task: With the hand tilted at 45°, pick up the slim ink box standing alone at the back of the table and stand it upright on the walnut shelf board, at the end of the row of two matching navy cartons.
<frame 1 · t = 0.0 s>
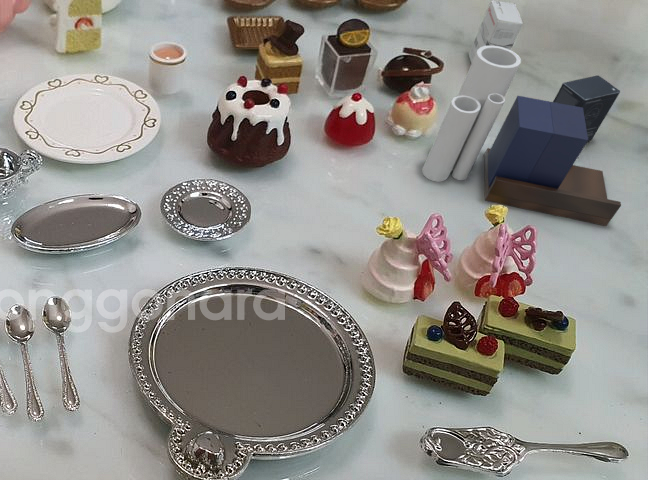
vase: (448, 166, 132), on the table
shelf: (542, 188, 128), on the table
box: (562, 137, 138), on the table
matching cartons: (546, 182, 127), resting on shelf
ink box: (482, 66, 153), on the table
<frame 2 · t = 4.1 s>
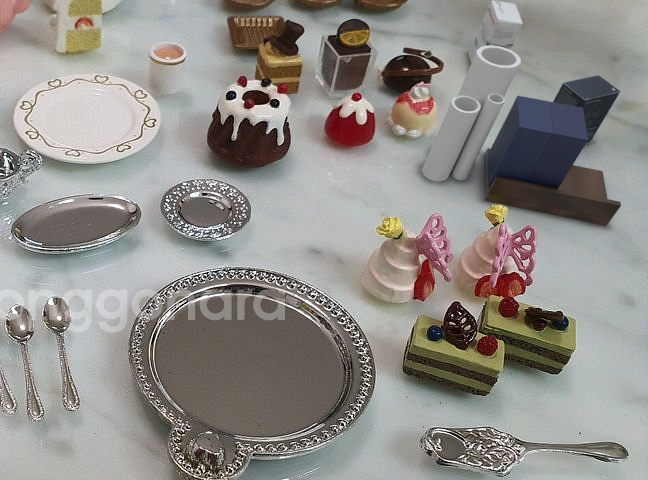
nothing on the table moved.
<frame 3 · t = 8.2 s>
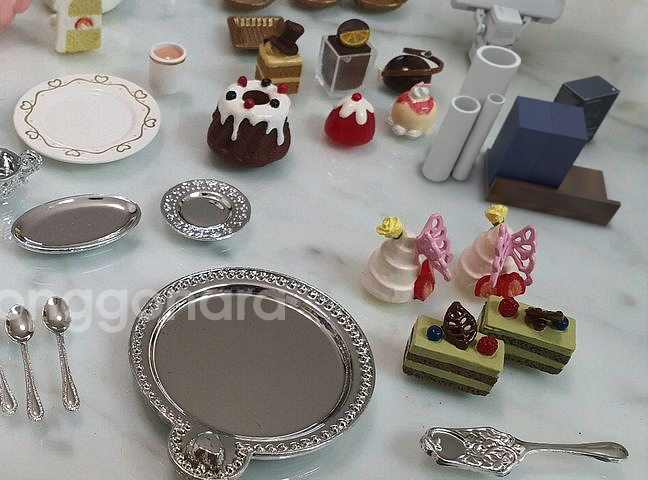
hand: (496, 37, 148), 7 cm above the table, tool tilted 45°, fingers closed on ink box, 5 cm apart
ink box: (482, 66, 153), on the table, touching gripper
everything else where it was.
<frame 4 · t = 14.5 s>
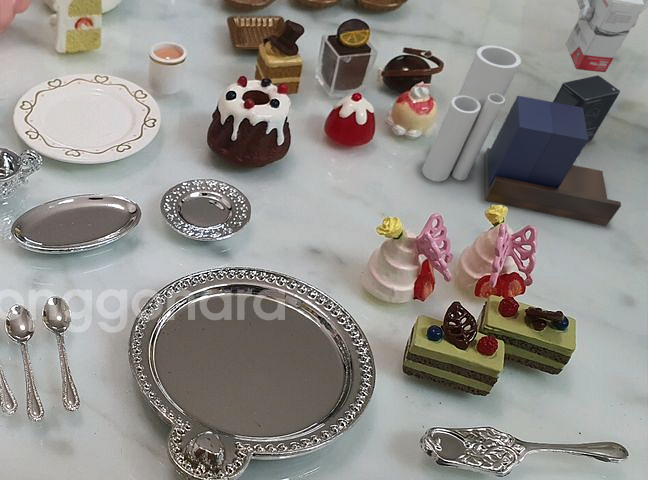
hand: (606, 23, 119), 23 cm above the table, tool tilted 45°, fingers closed on ink box, 5 cm apart
ink box: (584, 59, 125), point 16 cm above the table, touching gripper
everything else where it was.
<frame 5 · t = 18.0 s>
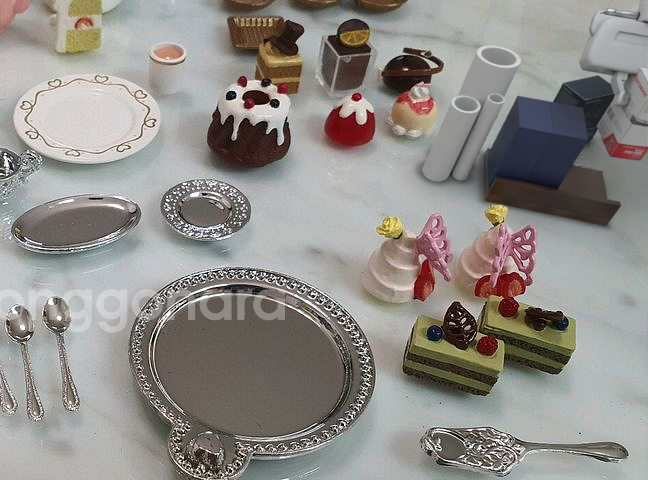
hand: (642, 110, 113), 18 cm above the table, tool tilted 45°, fingers closed on ink box, 5 cm apart
ink box: (617, 144, 119), point 11 cm above the table, touching gripper
everything else where it was.
when the fingers open (8 cm above the table, at t = 21.0 s): ink box stays where it is, resting on shelf.
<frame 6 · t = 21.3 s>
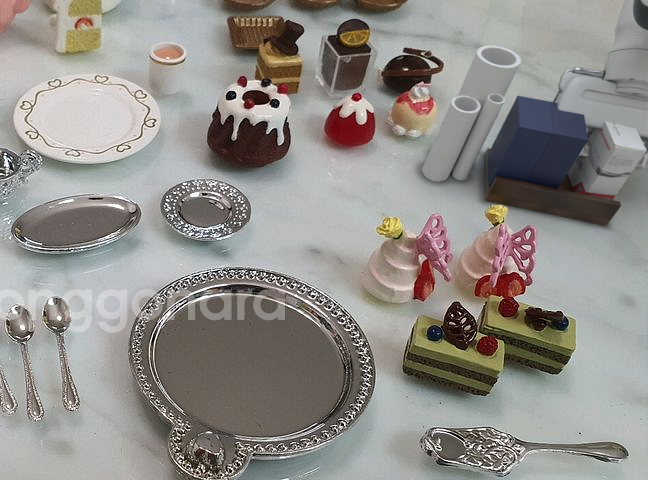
hand: (608, 162, 121), 8 cm above the table, tool tilted 45°, fingers open, 7 cm apart
ink box: (586, 191, 126), point 1 cm above the table, touching shelf
everything else where it was.
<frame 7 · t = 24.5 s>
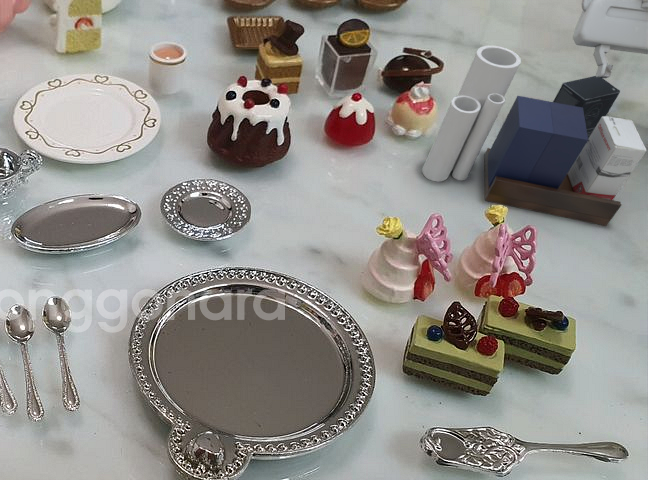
hand: (635, 81, 118), 18 cm above the table, tool tilted 40°, fingers open, 8 cm apart
nothing on the table moved.
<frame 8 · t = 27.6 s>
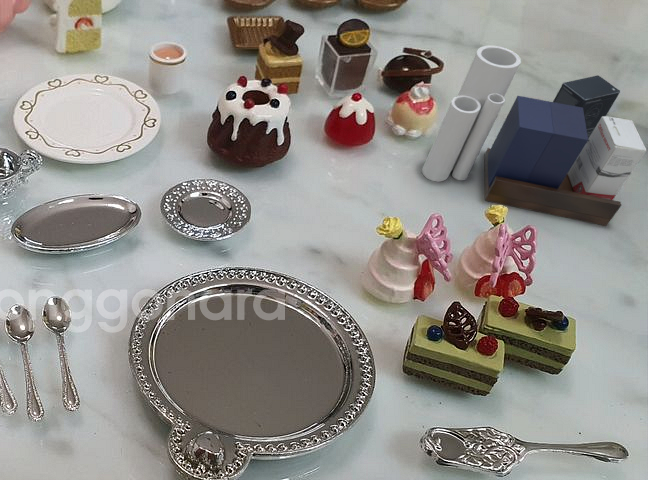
nothing on the table moved.
at the end: ink box 0.2 cm from the target spot on the shelf, point 1.3 cm above the shelf's base; ink box tilted 0°; the gripper is holding nothing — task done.
